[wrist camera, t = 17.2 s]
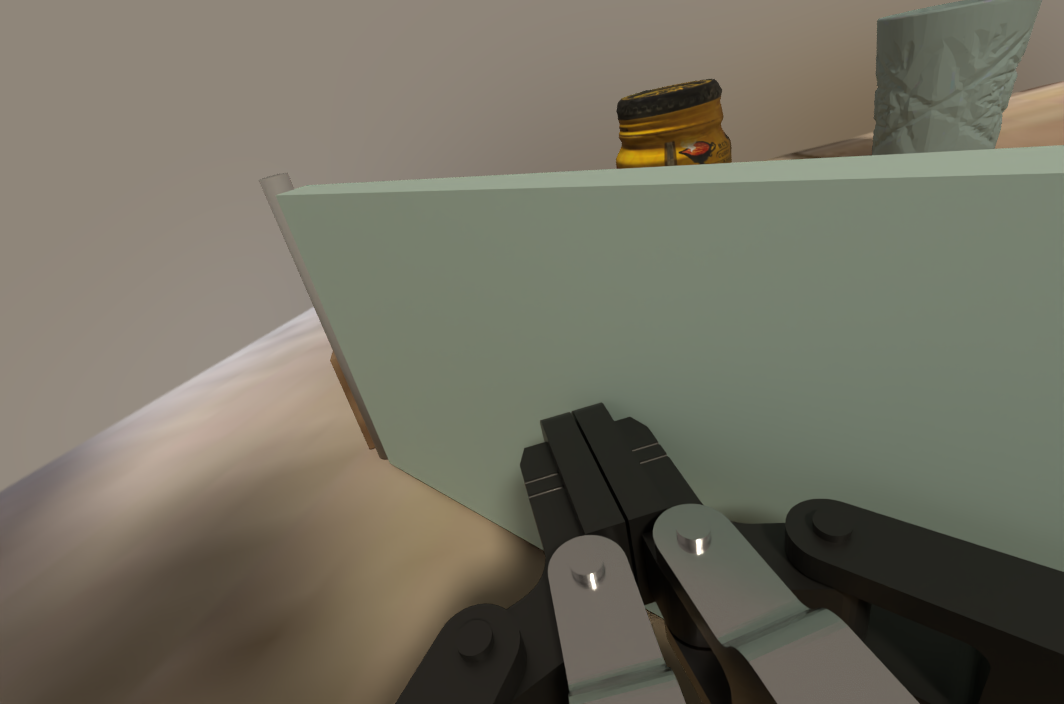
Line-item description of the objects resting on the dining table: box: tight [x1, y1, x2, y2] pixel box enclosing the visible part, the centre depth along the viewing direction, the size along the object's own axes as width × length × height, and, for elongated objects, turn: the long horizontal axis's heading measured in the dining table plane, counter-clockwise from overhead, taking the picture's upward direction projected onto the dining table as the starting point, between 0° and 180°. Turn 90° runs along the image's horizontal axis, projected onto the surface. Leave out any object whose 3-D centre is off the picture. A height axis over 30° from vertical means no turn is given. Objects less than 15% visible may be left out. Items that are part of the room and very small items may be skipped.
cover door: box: [259, 145, 1064, 619], centre depth 15 cm, size 22×1×13 cm, turn 49°
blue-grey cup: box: [872, 0, 1042, 155], centre depth 43 cm, size 10×10×12 cm
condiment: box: [616, 79, 732, 169], centre depth 30 cm, size 7×8×12 cm
